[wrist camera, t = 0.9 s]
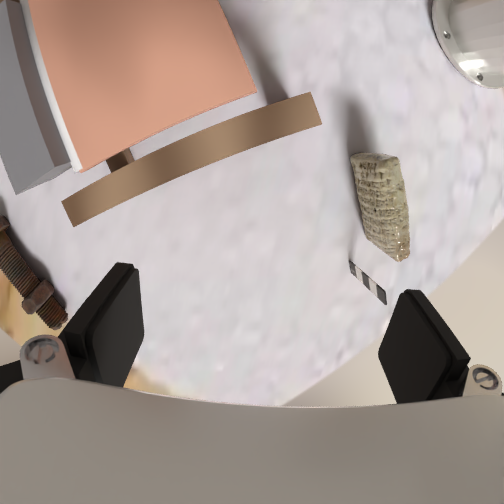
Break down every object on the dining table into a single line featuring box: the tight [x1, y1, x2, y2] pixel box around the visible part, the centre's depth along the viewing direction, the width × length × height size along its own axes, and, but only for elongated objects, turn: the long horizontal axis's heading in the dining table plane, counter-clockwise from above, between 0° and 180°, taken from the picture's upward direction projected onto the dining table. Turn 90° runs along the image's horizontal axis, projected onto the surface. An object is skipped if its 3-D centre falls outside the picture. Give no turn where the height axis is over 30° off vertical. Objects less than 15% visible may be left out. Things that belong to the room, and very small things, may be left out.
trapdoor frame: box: [0, 0, 322, 227], centre depth 19 cm, size 17×22×10 cm
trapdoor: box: [0, 0, 257, 195], centre depth 15 cm, size 16×16×5 cm
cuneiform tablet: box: [349, 153, 410, 305], centre depth 27 cm, size 7×4×12 cm
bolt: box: [0, 215, 68, 330], centre depth 31 cm, size 6×5×15 cm
